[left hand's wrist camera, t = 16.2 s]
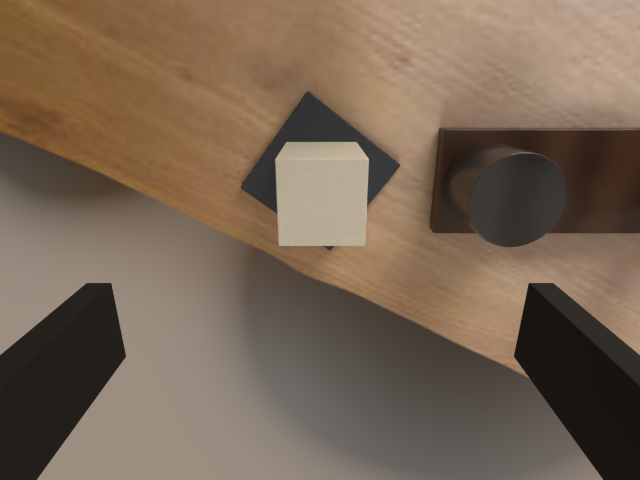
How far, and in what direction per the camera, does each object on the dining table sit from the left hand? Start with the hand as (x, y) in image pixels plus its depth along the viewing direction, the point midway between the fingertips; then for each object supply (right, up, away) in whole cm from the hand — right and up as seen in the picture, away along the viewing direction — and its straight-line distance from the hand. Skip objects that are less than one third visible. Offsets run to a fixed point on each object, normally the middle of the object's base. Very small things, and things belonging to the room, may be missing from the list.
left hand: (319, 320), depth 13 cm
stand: (+22, +8, +23) cm, 33 cm away
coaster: (0, +8, +23) cm, 24 cm away
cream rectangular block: (0, +8, +22) cm, 24 cm away
